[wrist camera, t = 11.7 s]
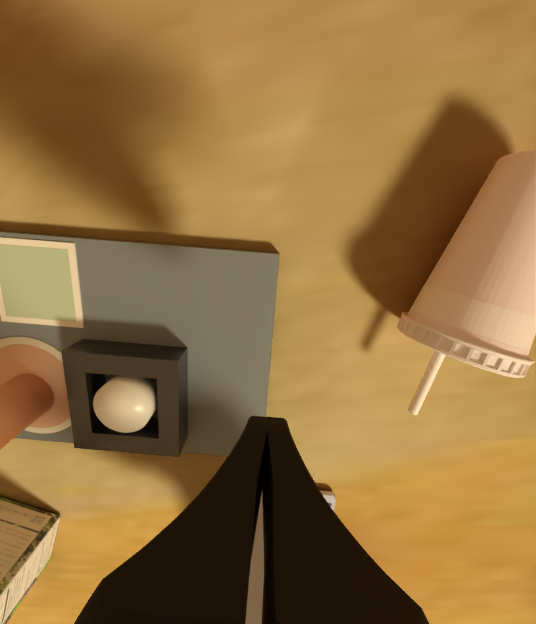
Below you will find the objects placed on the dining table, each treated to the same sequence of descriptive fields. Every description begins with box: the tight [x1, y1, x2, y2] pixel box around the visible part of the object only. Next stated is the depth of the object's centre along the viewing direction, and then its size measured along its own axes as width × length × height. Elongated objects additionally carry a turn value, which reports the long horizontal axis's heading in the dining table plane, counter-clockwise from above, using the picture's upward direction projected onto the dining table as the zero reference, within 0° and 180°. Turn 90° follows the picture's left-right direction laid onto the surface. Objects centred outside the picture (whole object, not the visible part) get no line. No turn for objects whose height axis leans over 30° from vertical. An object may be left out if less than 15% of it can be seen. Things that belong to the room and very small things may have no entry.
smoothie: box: [397, 151, 536, 415], centre depth 16 cm, size 6×6×14 cm
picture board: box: [0, 231, 279, 456], centre depth 20 cm, size 15×20×1 cm
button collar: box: [61, 339, 188, 457], centre depth 20 cm, size 7×7×2 cm
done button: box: [93, 375, 158, 433], centre depth 19 cm, size 4×4×2 cm
